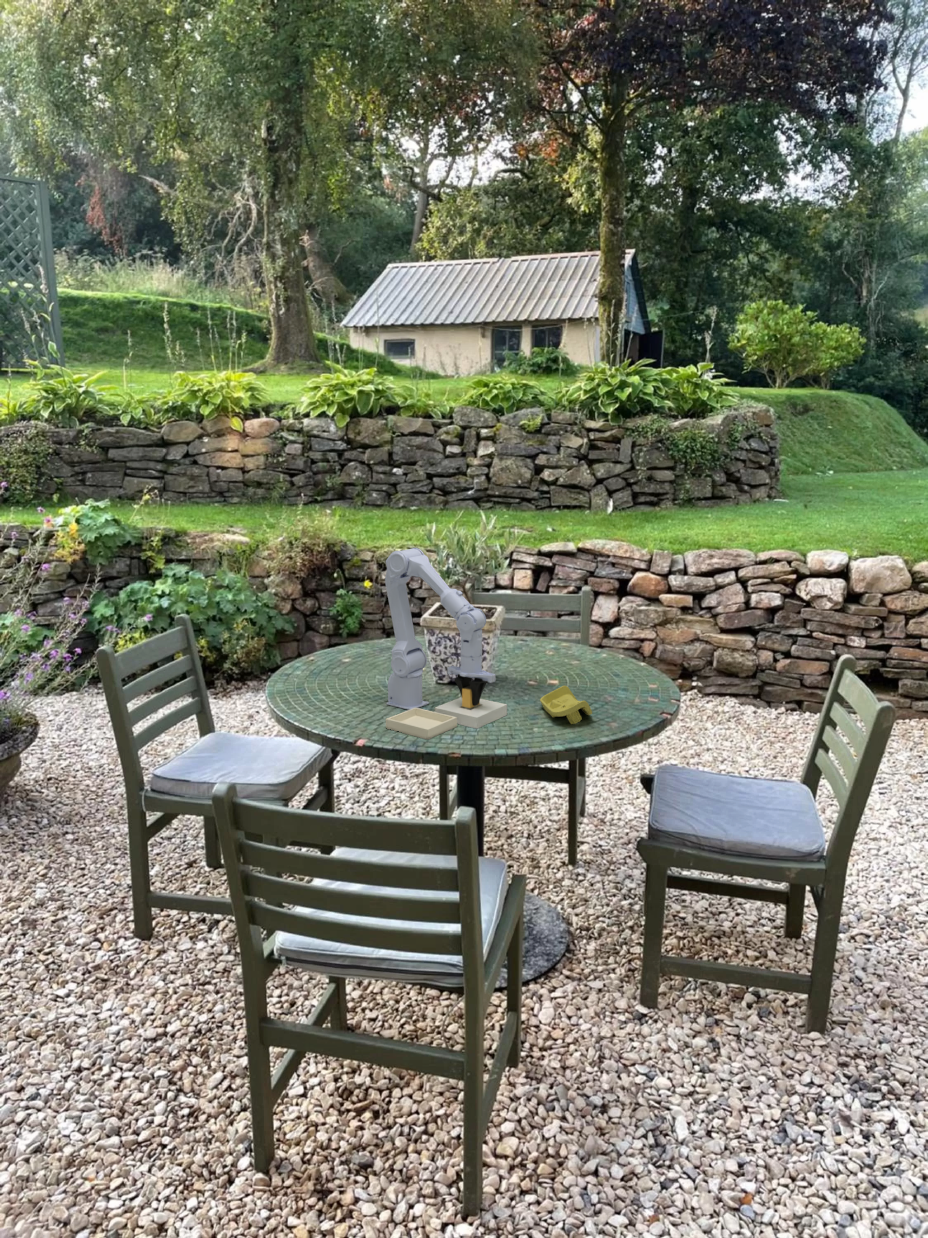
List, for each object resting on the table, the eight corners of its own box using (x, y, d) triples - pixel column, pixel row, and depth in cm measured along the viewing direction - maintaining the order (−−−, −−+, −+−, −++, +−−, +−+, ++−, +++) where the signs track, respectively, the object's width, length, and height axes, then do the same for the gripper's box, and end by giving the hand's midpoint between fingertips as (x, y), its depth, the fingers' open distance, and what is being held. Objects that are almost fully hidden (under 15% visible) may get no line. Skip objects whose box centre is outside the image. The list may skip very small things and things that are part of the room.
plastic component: (538, 698, 232) (569, 682, 233) (549, 721, 233) (580, 705, 234) (555, 715, 213) (589, 697, 213) (567, 740, 214) (601, 722, 214)
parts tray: (385, 728, 214) (385, 718, 213) (415, 716, 223) (415, 707, 223) (428, 739, 206) (427, 729, 205) (456, 726, 215) (456, 717, 215)
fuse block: (434, 718, 222) (434, 707, 221) (465, 705, 233) (465, 695, 232) (477, 728, 214) (477, 717, 213) (506, 715, 225) (507, 704, 224)
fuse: (462, 717, 222) (462, 687, 221) (471, 713, 226) (471, 684, 224) (469, 719, 221) (470, 689, 219) (479, 714, 224) (479, 685, 223)
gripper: (440, 653, 221) (440, 702, 224) (484, 661, 212) (484, 712, 215) (456, 648, 226) (456, 696, 229) (500, 656, 218) (499, 705, 221)
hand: (470, 703), depth 223 cm, fingers closed on fuse, 3 cm apart
